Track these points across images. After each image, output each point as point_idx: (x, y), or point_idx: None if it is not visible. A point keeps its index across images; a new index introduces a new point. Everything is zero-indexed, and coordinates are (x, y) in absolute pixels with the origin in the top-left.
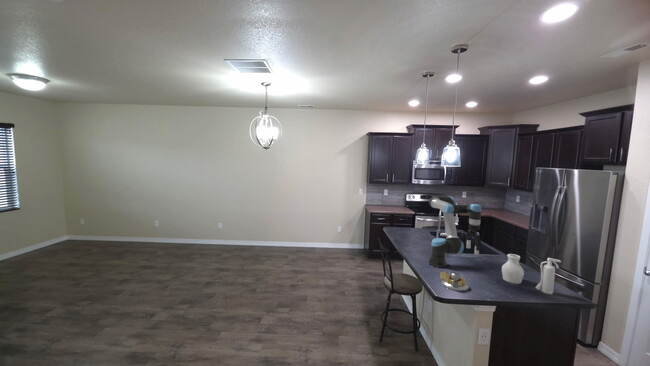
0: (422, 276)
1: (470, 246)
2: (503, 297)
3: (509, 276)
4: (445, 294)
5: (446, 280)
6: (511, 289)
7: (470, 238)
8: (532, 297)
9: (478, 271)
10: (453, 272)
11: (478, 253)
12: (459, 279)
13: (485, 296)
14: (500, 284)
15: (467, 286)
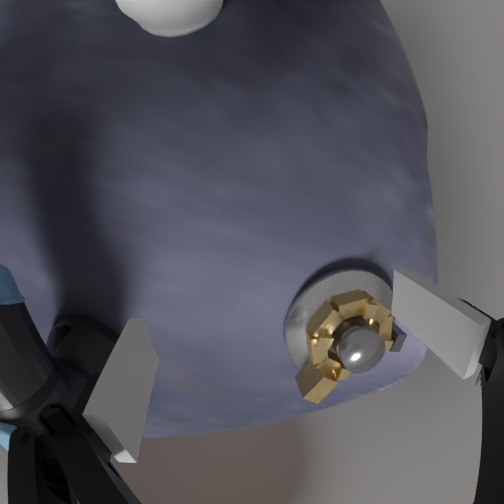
0: (274, 421)
1: (136, 334)
2: (407, 137)
3: (216, 6)
4: (409, 354)
5: None
6: (311, 50)
7: (109, 471)
8: (363, 16)
9: (90, 145)
10: (350, 363)
11: (412, 275)
12: (369, 325)
13: (415, 215)
14: (261, 74)
15: (375, 280)
